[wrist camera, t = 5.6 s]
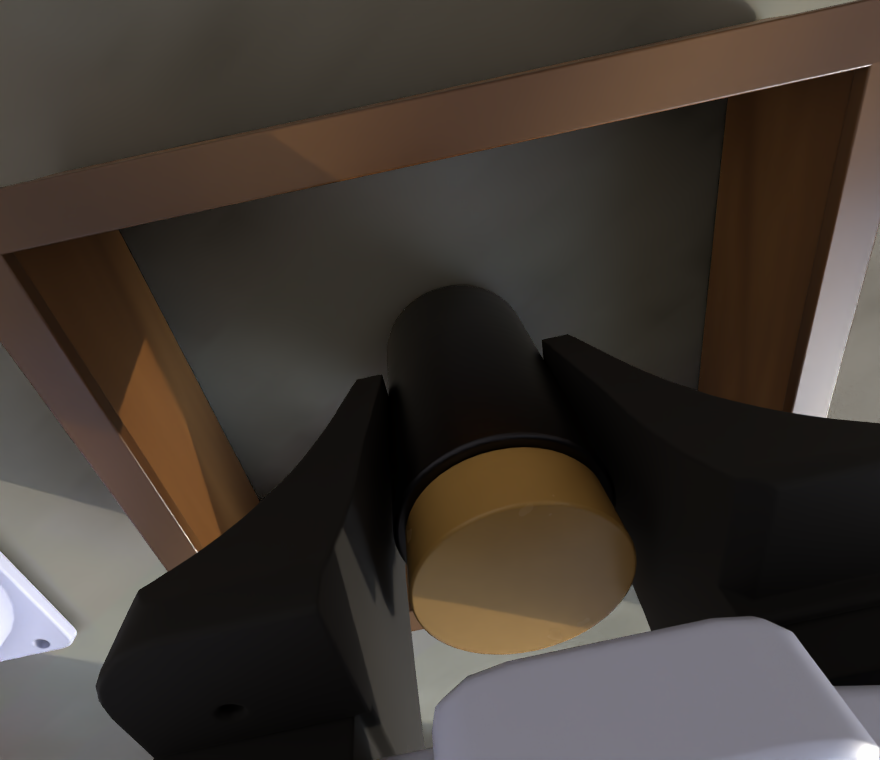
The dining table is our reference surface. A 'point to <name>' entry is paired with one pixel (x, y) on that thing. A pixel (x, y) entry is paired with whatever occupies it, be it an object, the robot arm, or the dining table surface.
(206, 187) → the open wooden box
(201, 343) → the dining table surface
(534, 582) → the pepper shaker
